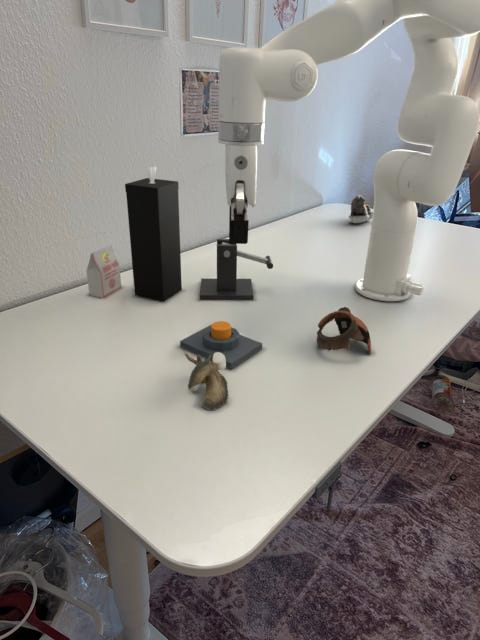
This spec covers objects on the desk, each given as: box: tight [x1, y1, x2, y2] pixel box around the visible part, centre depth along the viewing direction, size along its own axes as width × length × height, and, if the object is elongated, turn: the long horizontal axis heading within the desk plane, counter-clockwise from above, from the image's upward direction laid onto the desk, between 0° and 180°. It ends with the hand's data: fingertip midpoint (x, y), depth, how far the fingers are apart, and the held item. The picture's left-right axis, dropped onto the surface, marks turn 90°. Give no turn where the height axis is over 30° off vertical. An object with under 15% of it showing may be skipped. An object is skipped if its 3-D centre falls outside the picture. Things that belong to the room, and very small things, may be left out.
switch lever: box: [222, 242, 274, 270], centre depth 107 cm, size 12×5×2 cm, turn 92°
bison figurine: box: [348, 195, 373, 224], centre depth 166 cm, size 12×7×10 cm, turn 148°
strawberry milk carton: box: [86, 244, 122, 299], centre depth 107 cm, size 4×7×10 cm, turn 157°
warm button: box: [210, 320, 232, 340], centre depth 86 cm, size 4×4×2 cm
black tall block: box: [124, 166, 183, 303], centre depth 103 cm, size 8×8×28 cm
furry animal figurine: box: [184, 352, 229, 412], centre depth 74 cm, size 8×7×9 cm
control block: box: [179, 323, 263, 370], centre depth 87 cm, size 12×9×3 cm
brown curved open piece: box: [316, 306, 372, 355], centre depth 88 cm, size 12×10×8 cm
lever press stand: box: [199, 238, 254, 301], centre depth 108 cm, size 12×10×12 cm
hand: (237, 235), depth 86 cm, fingers open, 9 cm apart
